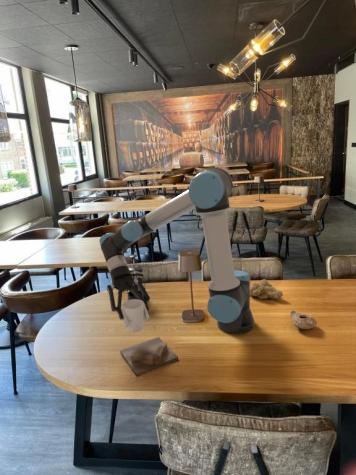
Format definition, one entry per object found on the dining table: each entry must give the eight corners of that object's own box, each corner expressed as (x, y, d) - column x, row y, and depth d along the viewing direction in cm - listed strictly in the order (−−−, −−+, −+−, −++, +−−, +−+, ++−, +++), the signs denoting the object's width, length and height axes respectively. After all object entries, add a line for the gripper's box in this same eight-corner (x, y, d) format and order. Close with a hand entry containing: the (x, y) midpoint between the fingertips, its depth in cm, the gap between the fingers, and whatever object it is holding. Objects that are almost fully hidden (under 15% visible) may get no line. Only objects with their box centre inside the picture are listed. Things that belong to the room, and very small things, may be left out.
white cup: (143, 333, 125) (141, 308, 122) (122, 333, 126) (120, 309, 123) (147, 322, 133) (145, 299, 130) (127, 322, 133) (125, 299, 131)
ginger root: (242, 287, 174) (246, 273, 171) (272, 293, 174) (277, 278, 172) (247, 302, 159) (251, 286, 156) (280, 308, 159) (285, 293, 157)
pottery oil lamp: (299, 315, 145) (308, 303, 142) (312, 338, 135) (322, 326, 132) (282, 312, 142) (291, 300, 139) (294, 335, 133) (304, 322, 129)
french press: (147, 302, 166) (143, 257, 160) (128, 304, 164) (123, 259, 158) (145, 292, 177) (141, 250, 171) (127, 294, 176) (122, 252, 170)
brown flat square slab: (120, 352, 127) (119, 344, 126) (158, 339, 134) (158, 331, 133) (136, 375, 114) (135, 367, 113) (178, 359, 121) (177, 351, 120)
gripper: (140, 268, 142) (160, 318, 133) (92, 279, 133) (109, 334, 124) (144, 259, 136) (165, 312, 127) (94, 270, 127) (112, 328, 118)
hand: (138, 323), depth 125 cm, fingers closed on white cup, 8 cm apart
